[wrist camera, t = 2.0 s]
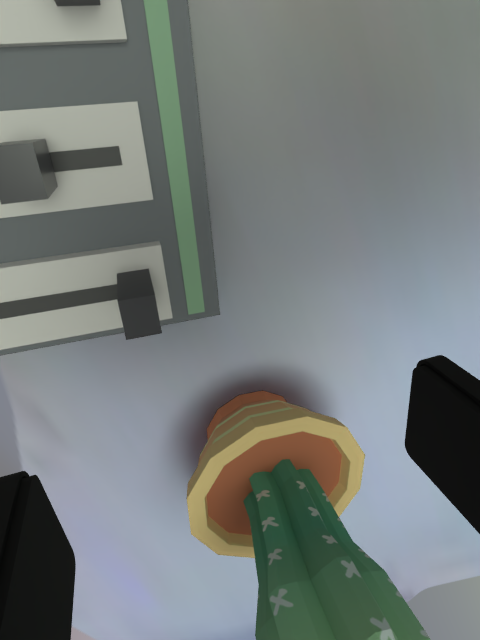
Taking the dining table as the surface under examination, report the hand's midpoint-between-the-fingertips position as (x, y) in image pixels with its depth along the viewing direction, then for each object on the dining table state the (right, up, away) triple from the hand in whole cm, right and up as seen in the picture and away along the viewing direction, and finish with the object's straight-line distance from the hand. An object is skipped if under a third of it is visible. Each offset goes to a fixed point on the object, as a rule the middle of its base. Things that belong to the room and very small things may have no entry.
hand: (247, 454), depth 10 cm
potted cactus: (+1, -7, +30) cm, 31 cm away
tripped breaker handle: (-11, +11, +12) cm, 20 cm away
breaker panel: (-12, +13, +15) cm, 24 cm away
